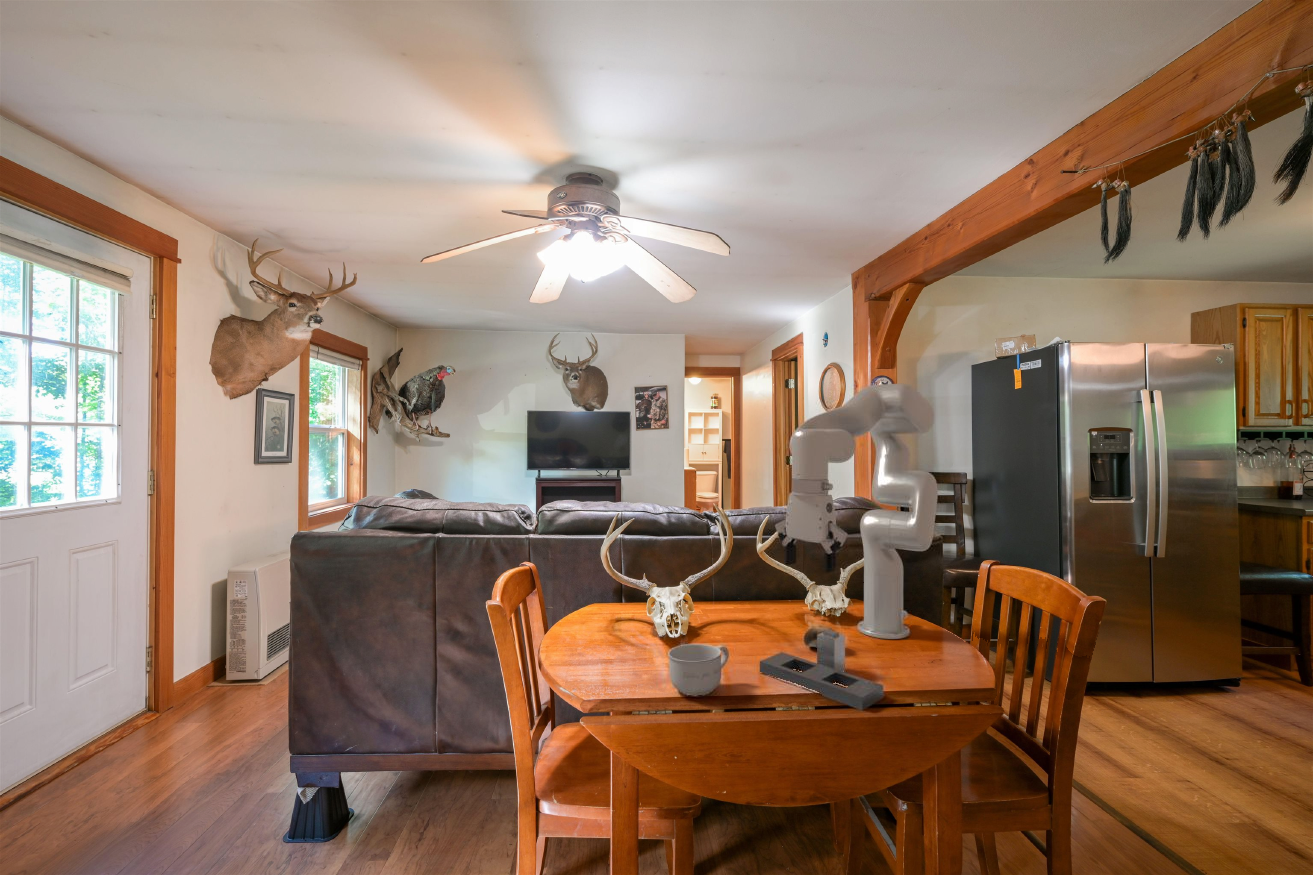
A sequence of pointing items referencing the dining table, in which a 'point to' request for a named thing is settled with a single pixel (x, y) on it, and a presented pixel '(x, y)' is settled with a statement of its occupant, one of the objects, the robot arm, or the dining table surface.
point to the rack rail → (823, 680)
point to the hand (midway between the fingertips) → (809, 567)
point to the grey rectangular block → (831, 650)
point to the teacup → (696, 667)
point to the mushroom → (814, 635)
